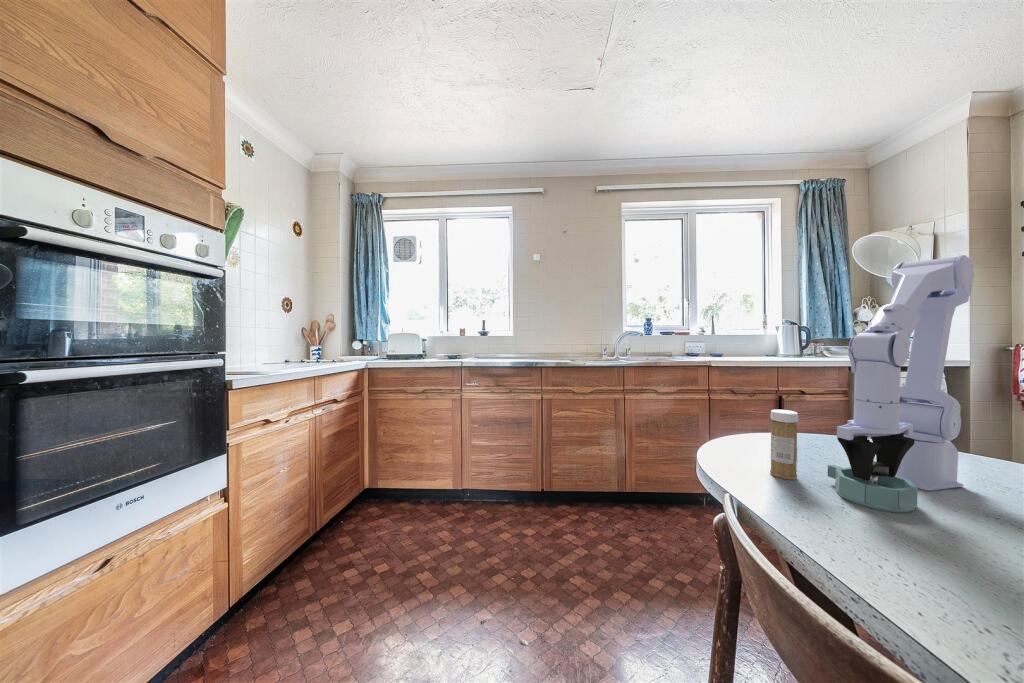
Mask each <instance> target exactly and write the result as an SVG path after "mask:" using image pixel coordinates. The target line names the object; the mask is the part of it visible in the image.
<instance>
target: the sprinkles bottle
mask: <svg viewBox="0 0 1024 683" xmlns="http://www.w3.org/2000/svg"><path fill="white" fill-rule="evenodd" d="M770 419H771V420H770V423H771V426H770V427H771V428H770V431H771V433H770V470H769V471H770V475H772V476H774V477H777V478H778V479H783V480H789V481H790V480H796V479H797V478H798V475H797V463H798V446H797V445H798V437H797V436H798V422H799V413H798V412H797V411H794V410H787V409H771V411H770Z"/></svg>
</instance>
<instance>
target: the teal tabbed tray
mask: <svg viewBox="0 0 1024 683" xmlns="http://www.w3.org/2000/svg"><path fill="white" fill-rule="evenodd" d="M827 477H828V478H832V479H834V481H835V482H834V485H835V492H836V494H837V495H838V496H839V497H841V498H842V499H844V500H846V501H848V502H850V503H854V504H856V505H859V506H862V507H865V508H869V509H873V510H876V511H881V512H882V511H883V512H888V513H895V514H896V513H898V514H907V513H908V514H909V513H913V512H914V511H915V510H916V507H918V492H919V490H918V489H919V488H917V487H916V486H915V485H914V484H913V483H912V482H911V481H910V480H908V479H904V478H901V477H898V476H895V477H893V478H892V477H889V476H878V485H880V486H876V485H870V484H865V483H870V479H869V480H863V479H860V478H857V477H854V476H853V473H852V469H851V466H850V467H849V466H848V467H842V466H839V465H836V464H828V465H827ZM862 482H865V483H862ZM882 486H884V487H882Z"/></svg>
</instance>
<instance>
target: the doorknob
mask: <svg viewBox="0 0 1024 683" xmlns="http://www.w3.org/2000/svg"><path fill="white" fill-rule="evenodd" d="M888 475H889V466H888V465H886V464H883V463H880V462H877V461H875V460H874V461H873V465H872V473H871V477H870V483H865V482H862V483H865V484H870V485H876V486H880V485H878V476H888ZM882 487H884V486H882Z"/></svg>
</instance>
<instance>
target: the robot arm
mask: <svg viewBox="0 0 1024 683" xmlns="http://www.w3.org/2000/svg"><path fill="white" fill-rule="evenodd" d="M974 273H975V272H974V265H973V261H972V259H971V258H970V257H969V256H967V255H966V254H963V255H958V256H953V257H944V258H943V257H942V258H936V259H927V260H918V261H911V262H909V261H908V262H905V261H903V262H898V263H897V264H896V265H895V266H894V267H893V269H892V271H891V277H890V278H891V285H892V288H893V289H894V293H893V295H892V297H891V300H890V301H889V304H888V303H887V304H885V305H882V306H881V307H880V308H878V309H877V311H876V312H875V314H874V316H873V317H872V318H871V320H870V322H869V323H868V325H867V326H866V328H865V330H864V331H863V332H858V333H857V334H855V335H853V336H852V337H851V338H850V340H849V343H848V348H847V354H848V358H849V361H850V370H851V373H852V374H854V390H853V391H854V392H853V393H854V395H853V419H849V420H847V423H846V424H843V425H837V426H836V438H837V441H838V443H840V445H841V447H842V448H843V450H844V453H845V454H846V456H847V458H848V459H847V460H848V462H849V466H850V467H851V469H852V473H853V476H854V477H857V478H860V479H863V480H869V479H870V477H871V473H872V465H873V461H875V460H876V461H875V462H880V463H883V464H886V465H888V466H889V475H888V476H889V477H892V478H893V477H895V476H898V477H901V478H904V479H908V480H910V481H911V482H912V483H913V484H914V485H915V486H916V487H917V488H918V489H921V490H924V491H928V492H930V491H936V490H946V489H954V488H960V487H961V488H962V487H964V485H965V484H964V483H962V482H958V468H959V466H958V465H959V462H958V461H959V452H958V448H956V446H955V445H954V443H953V442H951V441H953V440H954V439H956V438H957V437H958V436H959V434H960V431H961V427H962V418H961V416H962V415H961V410H962V409H961V407H962V406H961V404H960V402H959V401H958V399H956V398H954V397H953V396H952V395H950V394H949V393H947V392H945V391H944V390H942V383H943V376H944V369H945V365H946V358H947V351H948V345H949V339H950V333H951V329H952V328H951V326H952V321H953V317H954V314H955V311H956V308H957V307H959V306H961V305H963V304H967V303H968V302H969V300H970V299H969V298H970V296H971V295H972V288H973V283H974V282H973V281H974V277H975V276H974V275H975V274H974ZM912 334H913V335H912ZM911 336H913V337H912V342H911V339H910V338H911ZM908 357H909V358H908ZM907 361H908V364H907V369H906V370H907V371H906V376H905V383H904V384H903V385H901V370H902V368H901V367H902V366H904V365H905V364H906V362H907ZM869 438H870V439H871V441H870V439H869ZM875 457H876V458H875ZM874 459H875V460H874Z"/></svg>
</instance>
